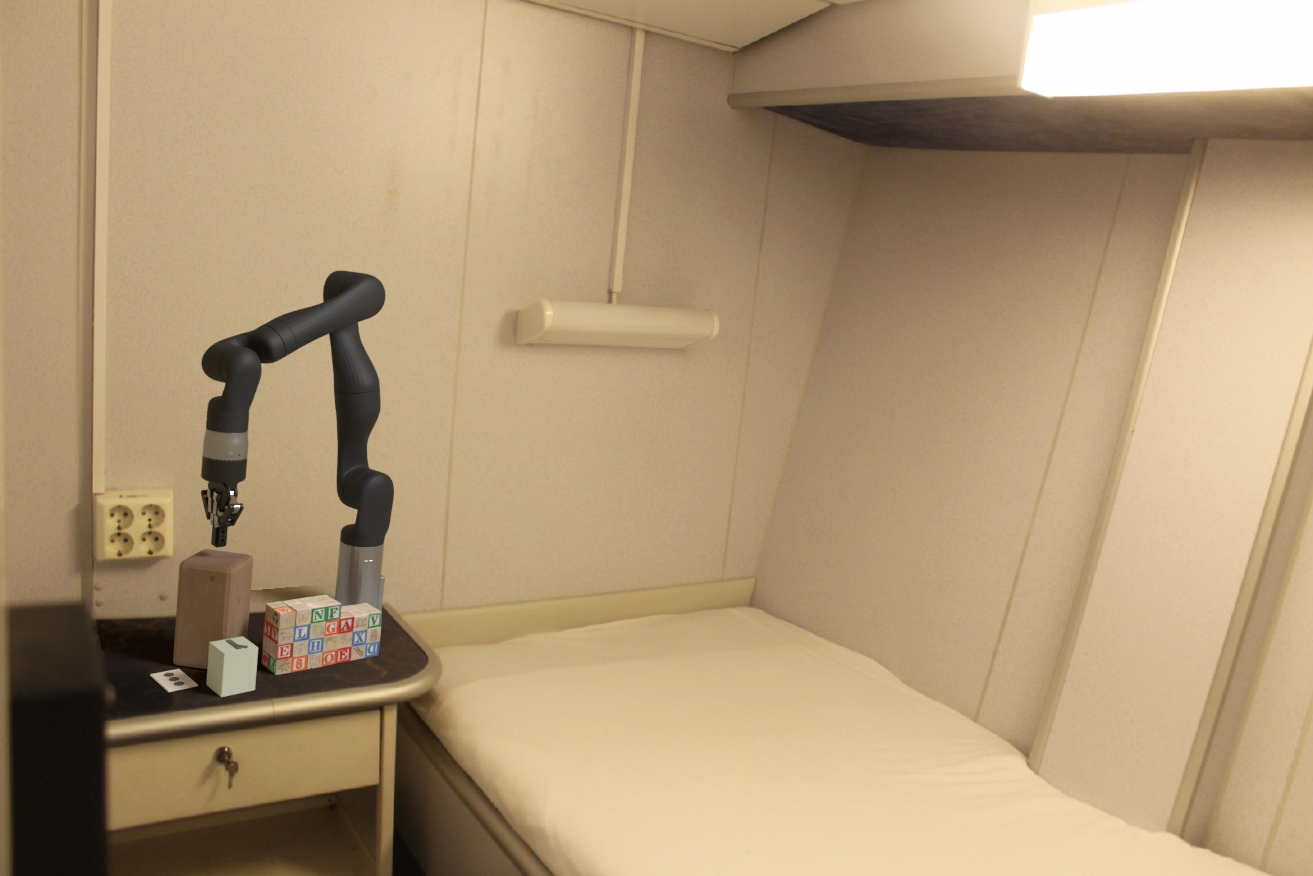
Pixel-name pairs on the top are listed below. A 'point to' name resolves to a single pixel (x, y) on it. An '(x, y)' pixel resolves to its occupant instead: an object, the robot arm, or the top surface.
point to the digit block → (232, 666)
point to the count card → (173, 680)
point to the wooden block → (211, 603)
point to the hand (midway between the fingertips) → (218, 545)
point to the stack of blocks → (318, 633)
